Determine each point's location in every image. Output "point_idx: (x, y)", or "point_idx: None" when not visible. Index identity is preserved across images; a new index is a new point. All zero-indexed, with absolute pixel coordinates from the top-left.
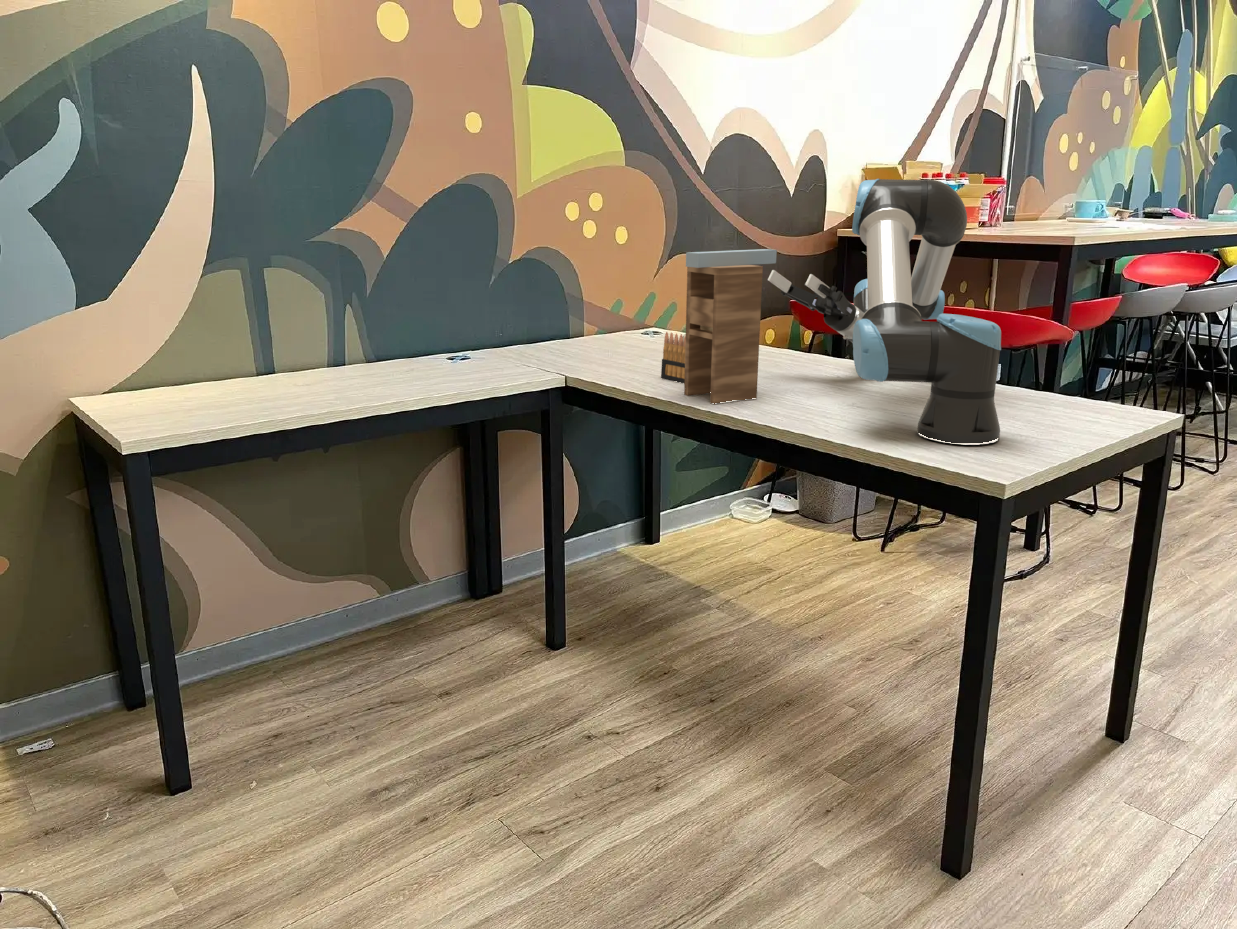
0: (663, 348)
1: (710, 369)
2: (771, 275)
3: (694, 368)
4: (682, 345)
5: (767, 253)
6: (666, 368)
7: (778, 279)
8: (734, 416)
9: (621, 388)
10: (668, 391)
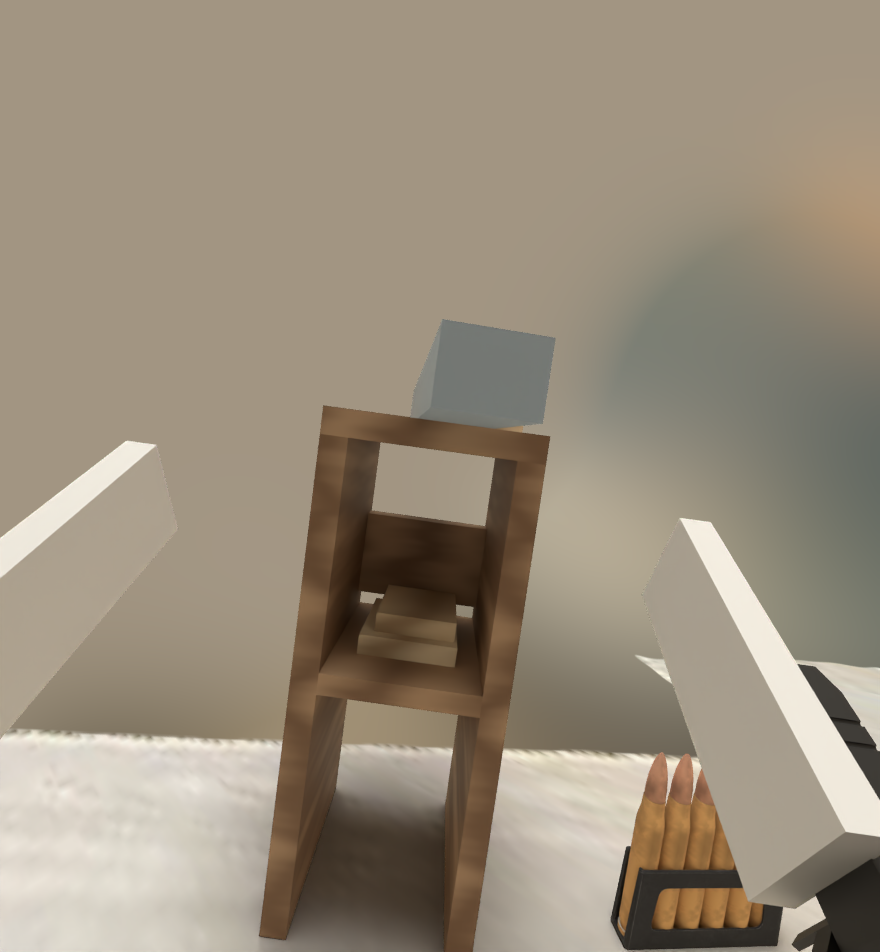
0: None
1: (455, 793)
2: (662, 562)
3: (456, 743)
4: (696, 796)
5: (432, 355)
6: None
7: (692, 631)
8: (197, 744)
9: (595, 758)
10: (523, 806)
